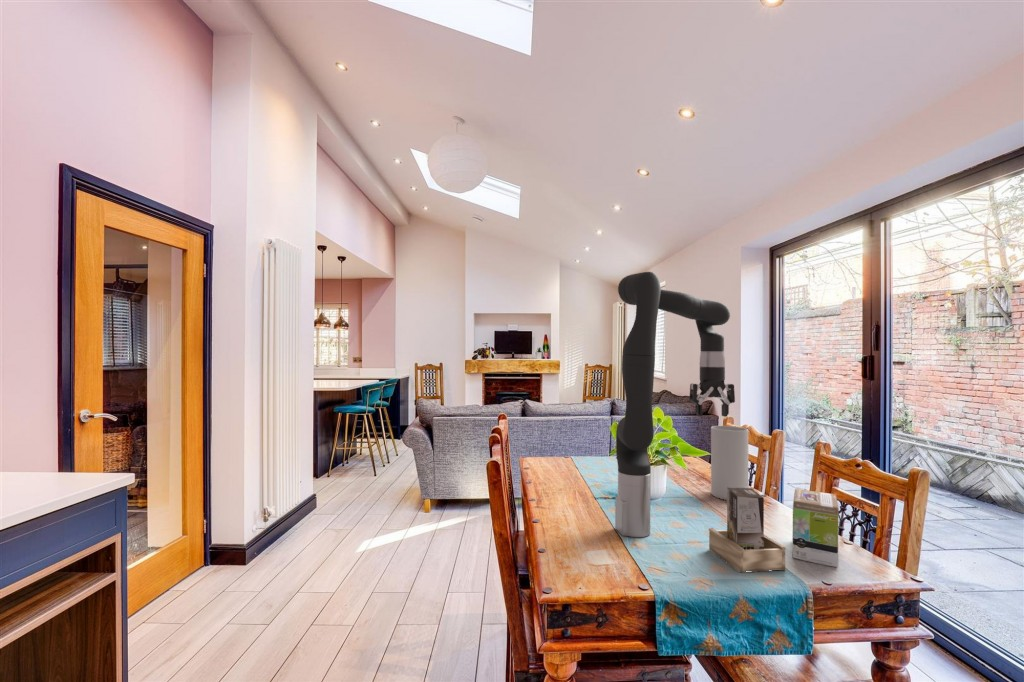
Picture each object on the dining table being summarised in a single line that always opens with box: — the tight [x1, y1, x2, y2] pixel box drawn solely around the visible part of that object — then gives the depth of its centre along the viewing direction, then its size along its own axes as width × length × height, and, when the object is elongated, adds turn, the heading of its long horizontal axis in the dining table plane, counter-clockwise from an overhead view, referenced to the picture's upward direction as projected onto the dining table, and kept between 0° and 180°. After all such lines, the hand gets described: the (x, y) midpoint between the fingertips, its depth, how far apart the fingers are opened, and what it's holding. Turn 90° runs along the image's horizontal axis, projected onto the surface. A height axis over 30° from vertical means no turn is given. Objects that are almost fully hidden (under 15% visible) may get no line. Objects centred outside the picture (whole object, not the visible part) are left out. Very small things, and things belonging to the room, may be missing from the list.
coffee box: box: [726, 487, 765, 550], centre depth 121 cm, size 9×6×16 cm
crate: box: [708, 527, 787, 573], centre depth 121 cm, size 12×14×6 cm
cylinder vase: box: [710, 425, 749, 501], centre depth 176 cm, size 12×12×25 cm
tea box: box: [791, 488, 840, 568], centre depth 125 cm, size 15×10×15 cm, turn 148°
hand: (712, 416), depth 153 cm, fingers open, 8 cm apart
